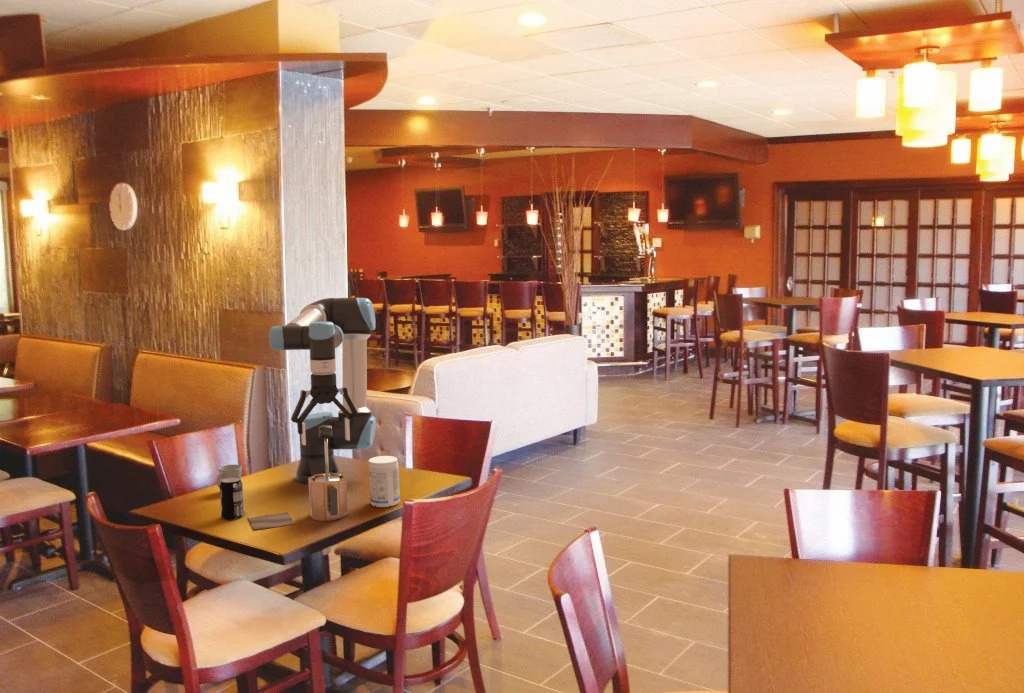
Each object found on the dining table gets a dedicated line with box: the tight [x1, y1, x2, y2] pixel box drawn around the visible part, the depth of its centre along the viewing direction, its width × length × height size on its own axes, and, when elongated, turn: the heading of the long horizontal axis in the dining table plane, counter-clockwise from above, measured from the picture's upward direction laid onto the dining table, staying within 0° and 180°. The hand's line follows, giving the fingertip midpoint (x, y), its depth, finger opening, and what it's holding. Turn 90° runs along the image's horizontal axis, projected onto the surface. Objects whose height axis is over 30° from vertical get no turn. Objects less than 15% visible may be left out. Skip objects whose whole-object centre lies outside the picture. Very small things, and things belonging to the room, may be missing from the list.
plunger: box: [315, 425, 340, 482], centre depth 258 cm, size 8×8×17 cm
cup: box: [216, 463, 243, 490], centre depth 285 cm, size 8×10×8 cm
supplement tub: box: [367, 455, 401, 508], centre depth 271 cm, size 10×10×15 cm
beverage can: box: [219, 477, 245, 521], centre depth 259 cm, size 7×7×12 cm
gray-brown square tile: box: [247, 512, 296, 532], centre depth 255 cm, size 12×12×1 cm
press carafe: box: [307, 472, 349, 522], centre depth 258 cm, size 14×11×12 cm
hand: (325, 442), depth 258 cm, fingers open, 13 cm apart
